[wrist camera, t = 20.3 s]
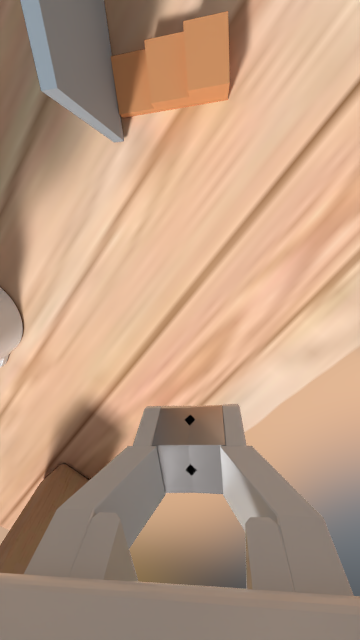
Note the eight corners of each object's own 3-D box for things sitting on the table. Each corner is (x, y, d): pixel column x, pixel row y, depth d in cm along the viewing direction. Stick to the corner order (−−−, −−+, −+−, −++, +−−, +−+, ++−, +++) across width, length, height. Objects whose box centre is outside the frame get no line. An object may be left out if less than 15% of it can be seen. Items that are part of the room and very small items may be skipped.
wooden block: (41, 480, 58) (-39, 603, 40) (63, 459, 54) (-14, 585, 36) (77, 503, 60) (16, 632, 41) (100, 485, 56) (45, 617, 38)
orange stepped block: (226, 39, 26) (228, 11, 23) (227, 100, 28) (229, 83, 24) (114, 62, 28) (99, 39, 24) (122, 118, 30) (110, 104, 26)
